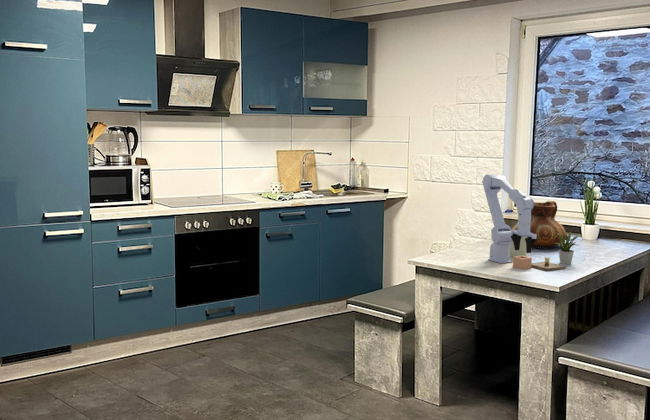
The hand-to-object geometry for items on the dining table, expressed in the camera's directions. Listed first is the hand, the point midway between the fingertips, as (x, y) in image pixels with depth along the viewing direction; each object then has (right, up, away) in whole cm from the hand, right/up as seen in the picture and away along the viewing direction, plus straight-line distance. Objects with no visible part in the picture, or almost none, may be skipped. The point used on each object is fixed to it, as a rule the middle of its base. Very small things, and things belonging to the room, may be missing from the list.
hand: (522, 251), depth 314 cm
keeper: (+12, -8, +2) cm, 14 cm away
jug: (+26, -1, +58) cm, 64 cm away
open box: (0, -8, +1) cm, 8 cm away
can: (+6, -4, +30) cm, 31 cm away
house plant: (+25, -7, +11) cm, 28 cm away
